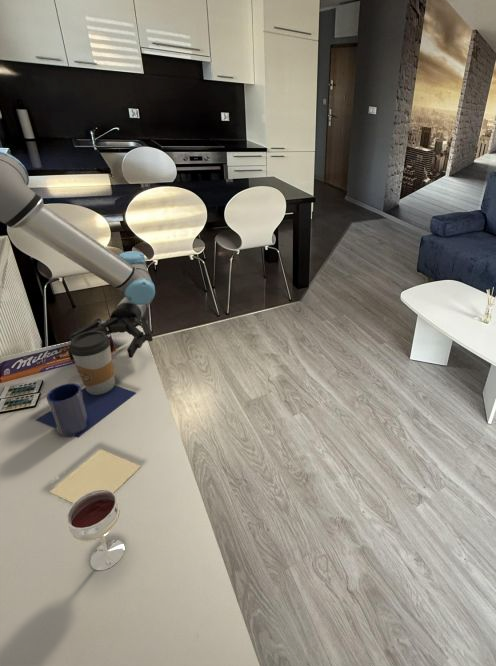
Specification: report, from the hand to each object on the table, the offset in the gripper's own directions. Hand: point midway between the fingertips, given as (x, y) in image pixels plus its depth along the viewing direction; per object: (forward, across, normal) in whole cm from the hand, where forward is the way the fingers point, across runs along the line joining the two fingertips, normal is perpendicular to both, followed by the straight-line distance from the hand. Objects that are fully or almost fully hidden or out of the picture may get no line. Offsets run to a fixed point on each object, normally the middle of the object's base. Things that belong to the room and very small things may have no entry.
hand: (100, 354), depth 102 cm
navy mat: (+10, 0, -8) cm, 13 cm away
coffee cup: (+4, 0, -8) cm, 9 cm away
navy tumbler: (+17, +1, -8) cm, 19 cm away
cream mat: (+32, -9, -8) cm, 34 cm away
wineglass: (+47, -17, -8) cm, 51 cm away
